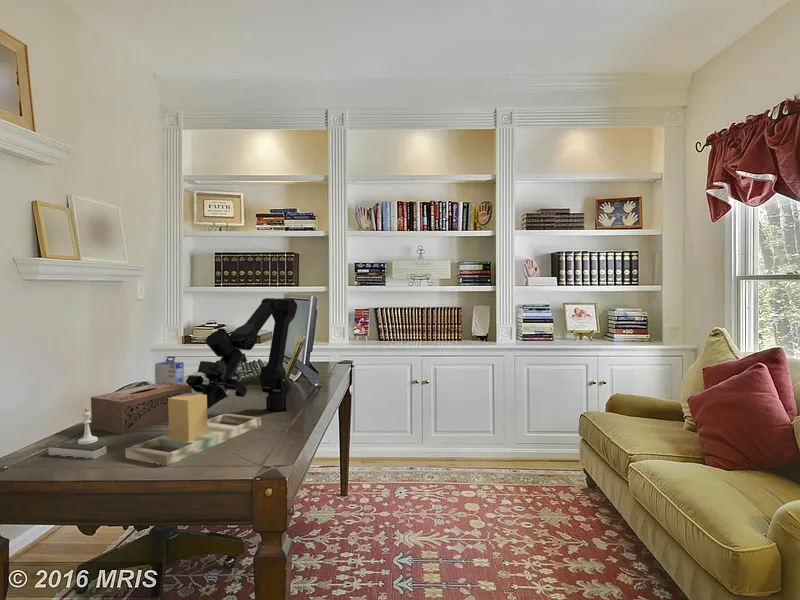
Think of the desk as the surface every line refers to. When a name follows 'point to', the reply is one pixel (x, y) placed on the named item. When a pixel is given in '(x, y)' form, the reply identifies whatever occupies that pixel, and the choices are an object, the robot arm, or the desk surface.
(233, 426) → the trap board
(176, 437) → the ochre block
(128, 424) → the tissue box cover
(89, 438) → the chess piece
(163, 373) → the ink cartridge box
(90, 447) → the multiport hub
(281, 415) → the desk surface
